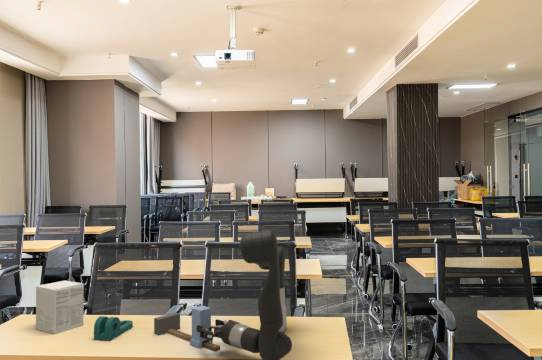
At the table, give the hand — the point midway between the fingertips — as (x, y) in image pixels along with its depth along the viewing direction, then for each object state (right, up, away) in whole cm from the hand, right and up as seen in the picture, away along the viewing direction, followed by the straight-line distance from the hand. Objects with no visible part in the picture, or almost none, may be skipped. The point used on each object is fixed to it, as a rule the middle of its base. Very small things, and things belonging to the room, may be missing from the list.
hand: (206, 325), depth 148 cm
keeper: (-2, -8, +2) cm, 8 cm away
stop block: (-18, -8, +16) cm, 26 cm away
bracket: (-38, -9, +16) cm, 42 cm away
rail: (-6, -8, +6) cm, 11 cm away
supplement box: (-64, -9, +23) cm, 69 cm away
